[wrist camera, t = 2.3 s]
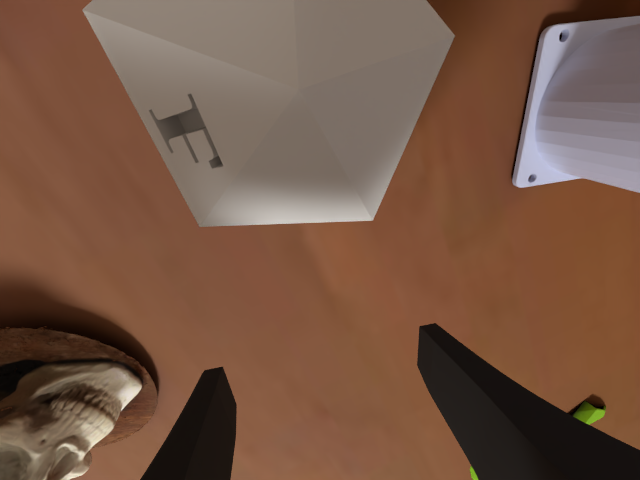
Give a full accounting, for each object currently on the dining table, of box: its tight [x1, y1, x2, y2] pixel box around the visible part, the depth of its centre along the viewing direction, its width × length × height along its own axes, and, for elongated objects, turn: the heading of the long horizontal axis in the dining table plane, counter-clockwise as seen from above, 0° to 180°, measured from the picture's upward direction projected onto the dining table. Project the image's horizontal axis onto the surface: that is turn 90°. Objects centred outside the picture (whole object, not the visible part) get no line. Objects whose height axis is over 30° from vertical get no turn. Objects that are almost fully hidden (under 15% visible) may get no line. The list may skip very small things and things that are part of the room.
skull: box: [0, 326, 157, 480], centre depth 18 cm, size 12×10×10 cm
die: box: [83, 0, 455, 227], centre depth 9 cm, size 8×9×10 cm
